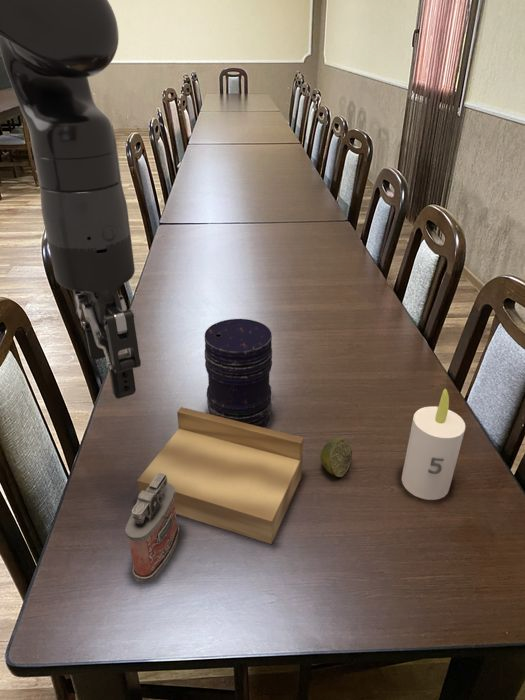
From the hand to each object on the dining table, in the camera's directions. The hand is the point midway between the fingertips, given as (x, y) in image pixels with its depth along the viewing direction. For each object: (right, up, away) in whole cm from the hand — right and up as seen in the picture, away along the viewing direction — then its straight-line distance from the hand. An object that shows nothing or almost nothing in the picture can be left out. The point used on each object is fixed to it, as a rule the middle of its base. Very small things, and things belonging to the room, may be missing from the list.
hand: (112, 374), depth 59 cm
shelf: (+11, -16, +13) cm, 23 cm away
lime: (+27, -14, +16) cm, 34 cm away
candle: (+39, -15, +14) cm, 44 cm away
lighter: (+4, -21, +4) cm, 22 cm away
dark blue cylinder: (+13, -8, +26) cm, 30 cm away
